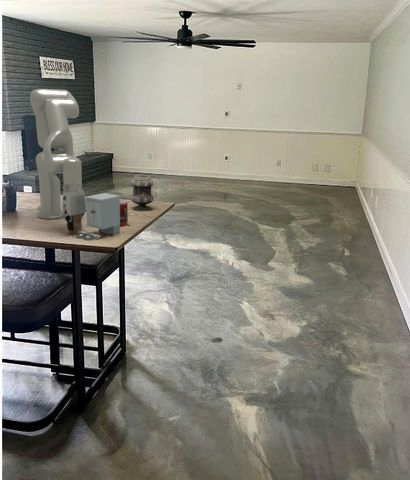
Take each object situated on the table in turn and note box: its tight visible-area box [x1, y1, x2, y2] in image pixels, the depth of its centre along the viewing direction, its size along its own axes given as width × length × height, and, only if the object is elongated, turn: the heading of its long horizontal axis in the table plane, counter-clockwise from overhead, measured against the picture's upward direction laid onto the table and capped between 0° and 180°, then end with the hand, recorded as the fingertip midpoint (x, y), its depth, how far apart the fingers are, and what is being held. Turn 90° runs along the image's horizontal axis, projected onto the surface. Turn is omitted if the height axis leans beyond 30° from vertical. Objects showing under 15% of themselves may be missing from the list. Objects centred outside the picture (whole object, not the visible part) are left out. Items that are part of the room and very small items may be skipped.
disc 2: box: [82, 235, 94, 242], centre depth 205 cm, size 4×4×2 cm
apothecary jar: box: [130, 174, 154, 212], centre depth 260 cm, size 12×12×18 cm
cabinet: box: [85, 192, 121, 236], centre depth 211 cm, size 9×12×17 cm
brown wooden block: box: [67, 214, 101, 240], centre depth 208 cm, size 16×4×10 cm, turn 58°
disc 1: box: [75, 233, 85, 240], centre depth 207 cm, size 4×4×2 cm
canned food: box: [120, 199, 129, 227], centre depth 229 cm, size 8×8×11 cm
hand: (74, 228), depth 212 cm, fingers closed on brown wooden block, 4 cm apart
